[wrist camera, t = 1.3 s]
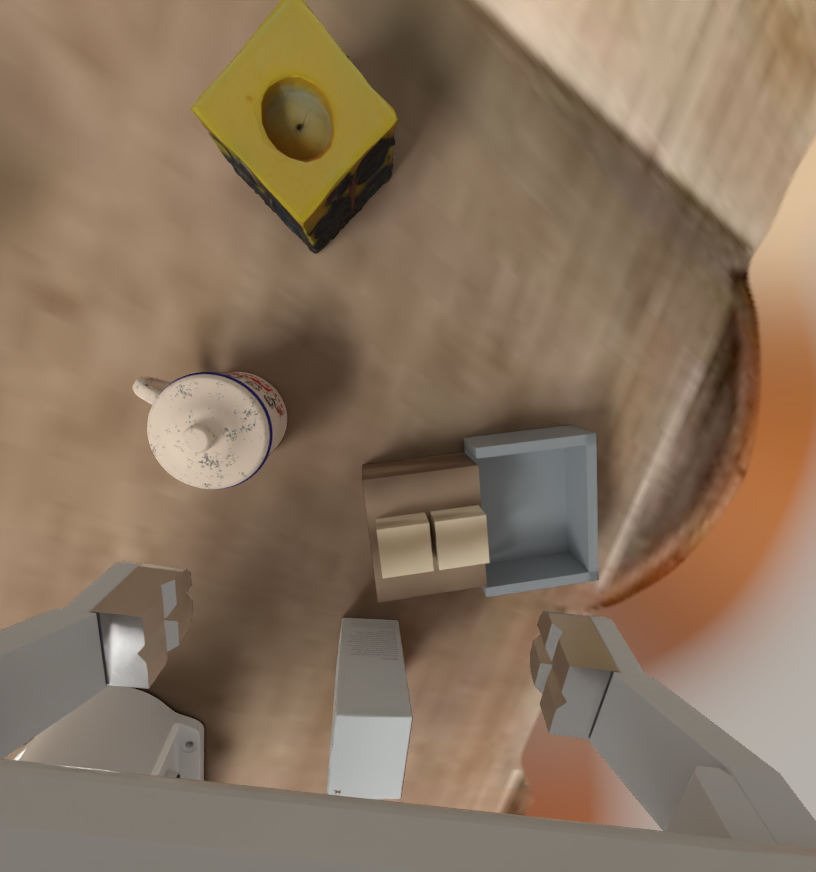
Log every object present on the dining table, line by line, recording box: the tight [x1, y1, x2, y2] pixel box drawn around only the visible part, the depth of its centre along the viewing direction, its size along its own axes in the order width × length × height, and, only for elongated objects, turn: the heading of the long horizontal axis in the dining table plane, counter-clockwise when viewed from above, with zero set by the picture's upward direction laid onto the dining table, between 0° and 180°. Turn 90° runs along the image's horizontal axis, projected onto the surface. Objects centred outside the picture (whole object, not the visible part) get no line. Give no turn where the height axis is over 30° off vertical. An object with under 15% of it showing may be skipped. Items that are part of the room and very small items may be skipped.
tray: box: [463, 425, 599, 597], centre depth 43 cm, size 15×12×5 cm
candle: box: [191, 0, 398, 254], centre depth 33 cm, size 10×10×10 cm
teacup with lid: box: [133, 372, 287, 489], centre depth 35 cm, size 12×9×12 cm
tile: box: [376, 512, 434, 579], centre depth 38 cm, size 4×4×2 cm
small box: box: [327, 618, 413, 799], centre depth 40 cm, size 8×6×13 cm
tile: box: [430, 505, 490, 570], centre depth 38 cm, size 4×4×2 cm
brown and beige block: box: [362, 452, 487, 603], centre depth 42 cm, size 12×10×6 cm
